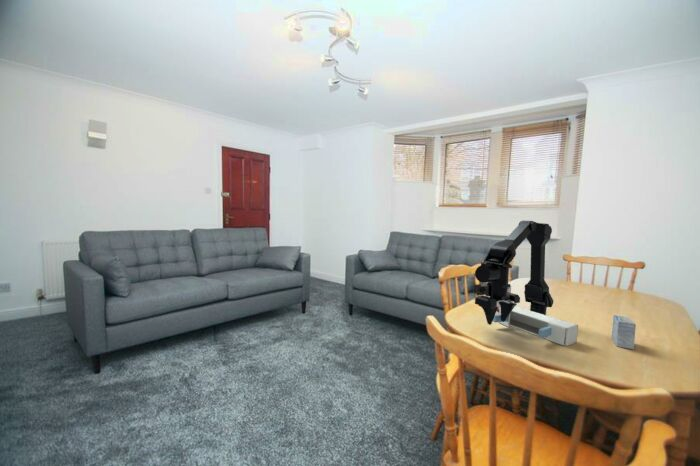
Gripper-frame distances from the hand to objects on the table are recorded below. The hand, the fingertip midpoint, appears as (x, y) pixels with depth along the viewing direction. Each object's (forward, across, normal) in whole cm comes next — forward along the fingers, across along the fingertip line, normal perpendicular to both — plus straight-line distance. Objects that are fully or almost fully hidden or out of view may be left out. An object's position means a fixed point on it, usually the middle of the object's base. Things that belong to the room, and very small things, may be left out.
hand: (496, 322), depth 109 cm
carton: (+3, -14, +6) cm, 16 cm away
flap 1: (+3, -6, -3) cm, 7 cm away
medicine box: (+3, -30, +27) cm, 40 cm away
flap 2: (+3, -7, +15) cm, 17 cm away
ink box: (+3, -25, -15) cm, 30 cm away
